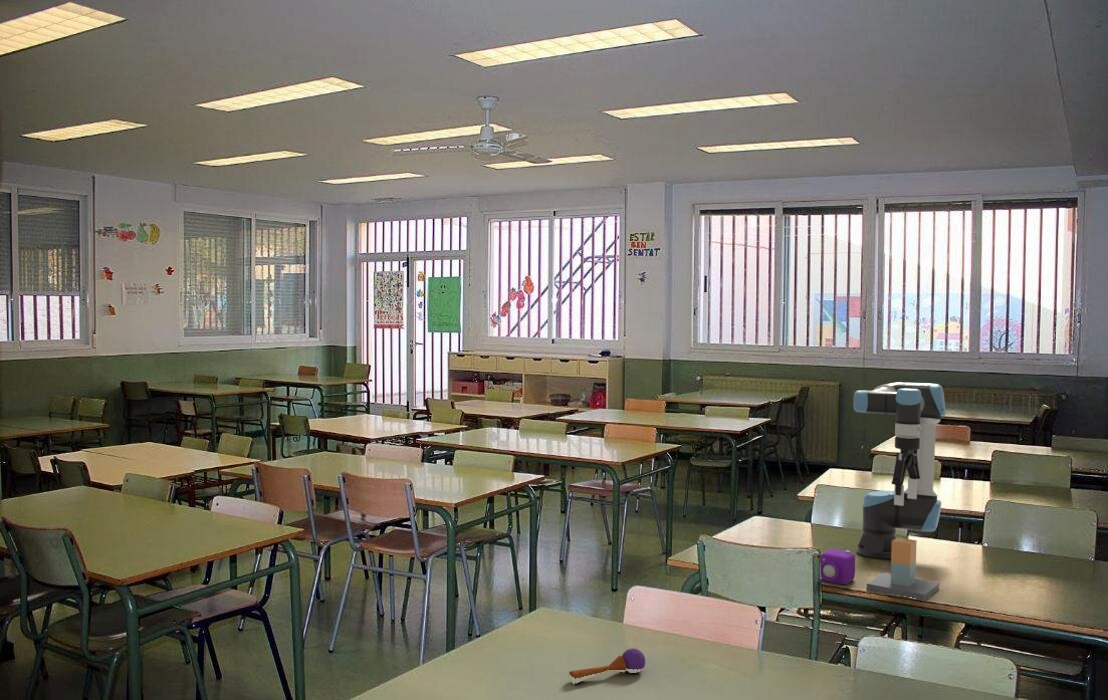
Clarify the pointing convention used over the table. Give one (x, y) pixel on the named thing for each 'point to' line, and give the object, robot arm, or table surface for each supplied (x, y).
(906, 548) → the orange brick
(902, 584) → the teal brick
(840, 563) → the toy camera
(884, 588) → the base plate
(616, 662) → the purple and brown microphone
